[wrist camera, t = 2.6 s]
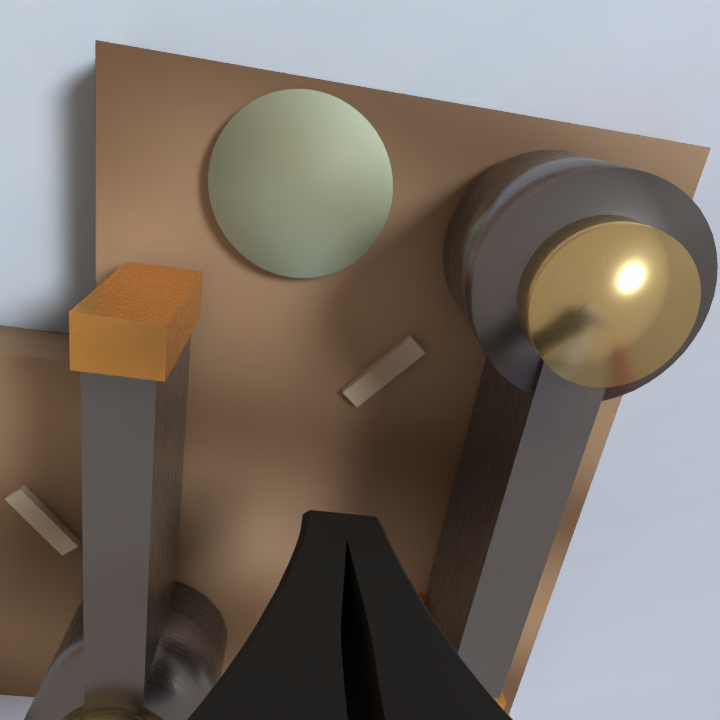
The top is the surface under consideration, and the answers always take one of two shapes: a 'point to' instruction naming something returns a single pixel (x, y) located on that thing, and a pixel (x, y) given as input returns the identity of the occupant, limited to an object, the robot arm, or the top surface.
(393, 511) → the walnut base
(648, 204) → the dark grey lever
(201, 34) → the top surface
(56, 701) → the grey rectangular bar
